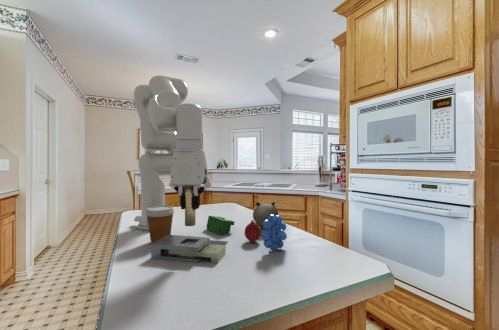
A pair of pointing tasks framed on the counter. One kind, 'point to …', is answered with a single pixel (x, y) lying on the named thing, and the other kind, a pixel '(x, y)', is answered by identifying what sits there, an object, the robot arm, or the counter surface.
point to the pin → (189, 206)
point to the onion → (252, 231)
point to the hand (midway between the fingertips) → (190, 208)
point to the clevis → (186, 249)
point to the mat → (217, 242)
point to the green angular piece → (219, 225)
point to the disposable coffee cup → (159, 221)
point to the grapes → (274, 232)
